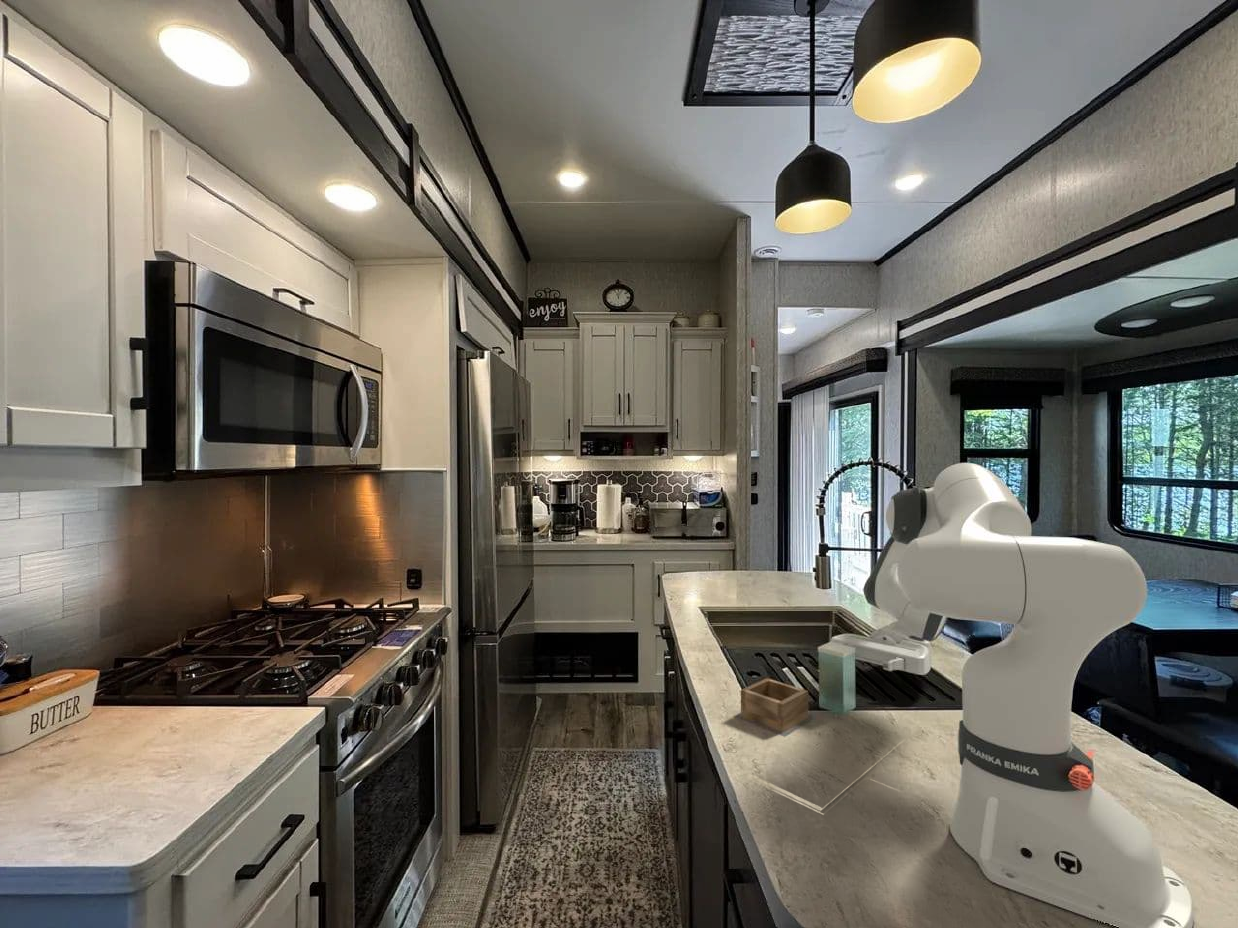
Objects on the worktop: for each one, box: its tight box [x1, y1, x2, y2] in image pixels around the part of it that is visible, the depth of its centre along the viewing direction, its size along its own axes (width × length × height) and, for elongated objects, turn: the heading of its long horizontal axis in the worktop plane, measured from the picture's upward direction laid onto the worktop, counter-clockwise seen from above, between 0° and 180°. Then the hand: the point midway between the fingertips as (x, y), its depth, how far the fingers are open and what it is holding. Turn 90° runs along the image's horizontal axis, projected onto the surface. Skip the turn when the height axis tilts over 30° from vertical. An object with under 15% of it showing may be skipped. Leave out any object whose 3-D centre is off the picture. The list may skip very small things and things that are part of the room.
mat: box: [733, 712, 817, 737], centre depth 105 cm, size 11×11×1 cm
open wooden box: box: [740, 677, 810, 732], centre depth 105 cm, size 9×9×5 cm
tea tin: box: [817, 641, 856, 716], centre depth 109 cm, size 5×5×12 cm
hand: (863, 660), depth 117 cm, fingers open, 8 cm apart
